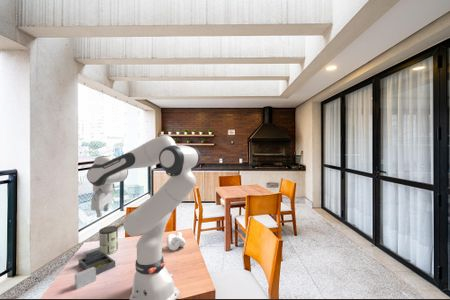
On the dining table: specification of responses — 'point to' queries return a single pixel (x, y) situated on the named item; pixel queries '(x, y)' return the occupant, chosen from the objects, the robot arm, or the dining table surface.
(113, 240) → the coffee can
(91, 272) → the grey rectangular block
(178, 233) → the white lumpy piece
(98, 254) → the rack
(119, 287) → the dining table surface
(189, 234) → the dining table surface
